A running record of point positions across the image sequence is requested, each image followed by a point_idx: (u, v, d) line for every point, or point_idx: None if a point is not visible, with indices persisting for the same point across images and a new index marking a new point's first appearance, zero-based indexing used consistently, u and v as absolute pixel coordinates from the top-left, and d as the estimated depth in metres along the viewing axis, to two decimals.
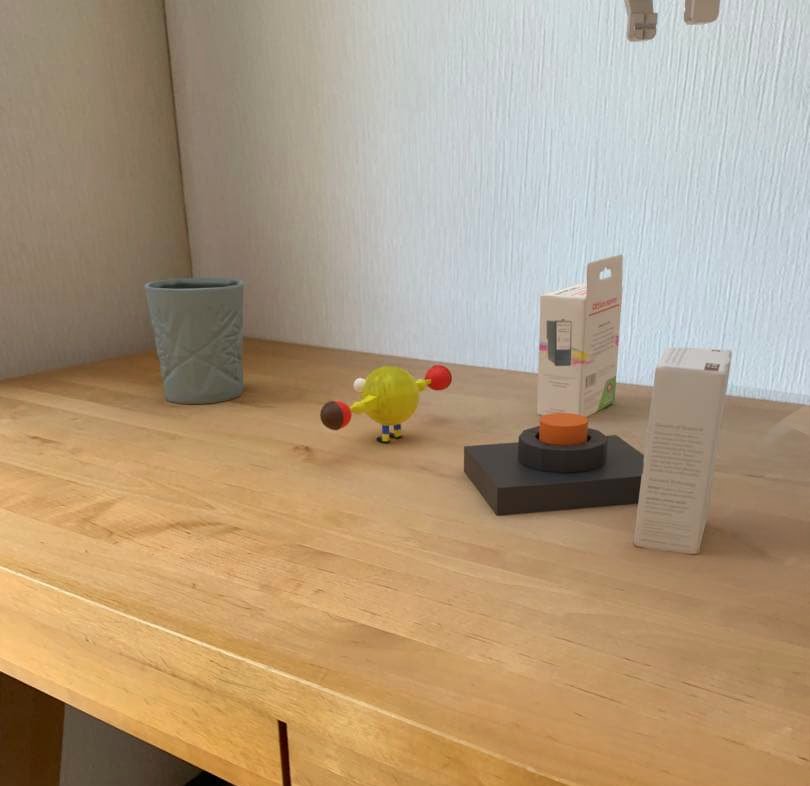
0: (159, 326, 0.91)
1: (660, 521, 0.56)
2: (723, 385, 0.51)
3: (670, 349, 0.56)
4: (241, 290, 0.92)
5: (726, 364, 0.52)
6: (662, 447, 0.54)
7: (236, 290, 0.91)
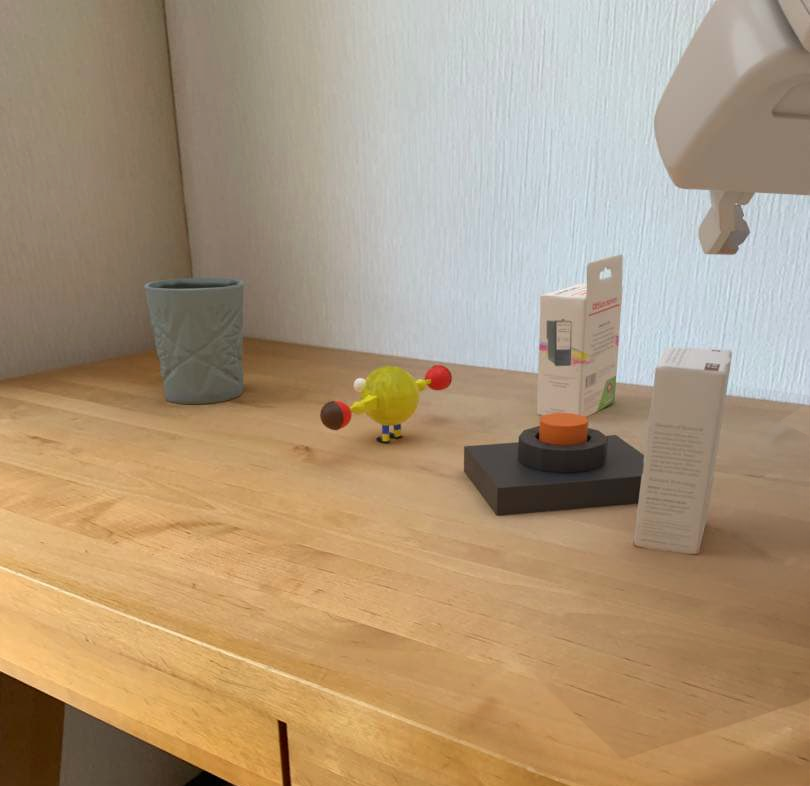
0: (159, 326, 0.91)
1: (660, 521, 0.56)
2: (723, 385, 0.51)
3: (670, 349, 0.56)
4: (241, 290, 0.92)
5: (726, 364, 0.52)
6: (662, 447, 0.54)
7: (236, 290, 0.91)
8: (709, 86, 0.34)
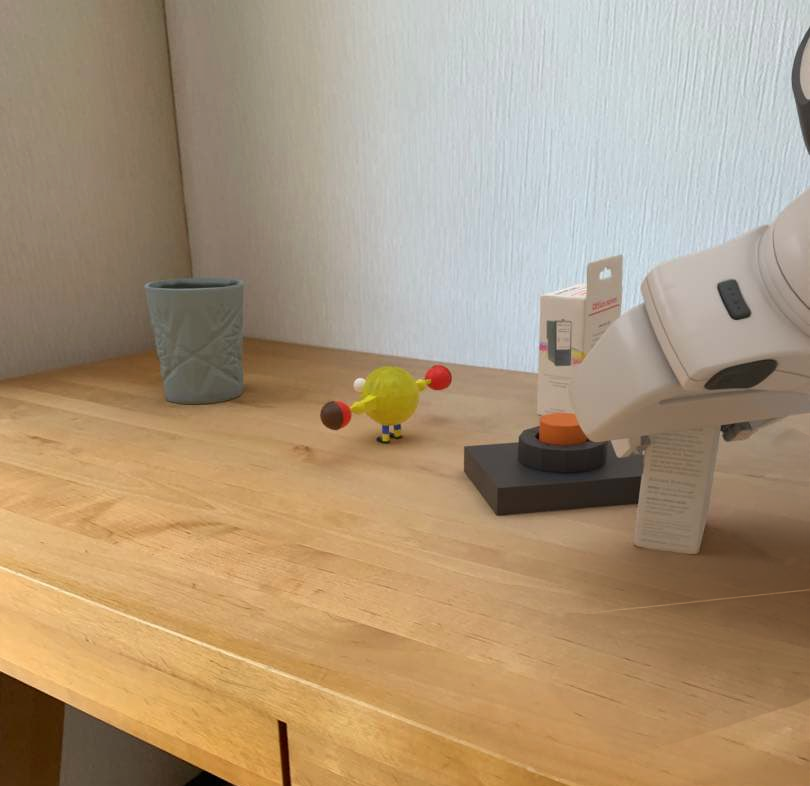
0: (159, 326, 0.91)
1: (660, 521, 0.56)
2: None
3: None
4: (241, 290, 0.92)
5: None
6: (662, 447, 0.54)
7: (236, 290, 0.91)
8: (614, 391, 0.45)
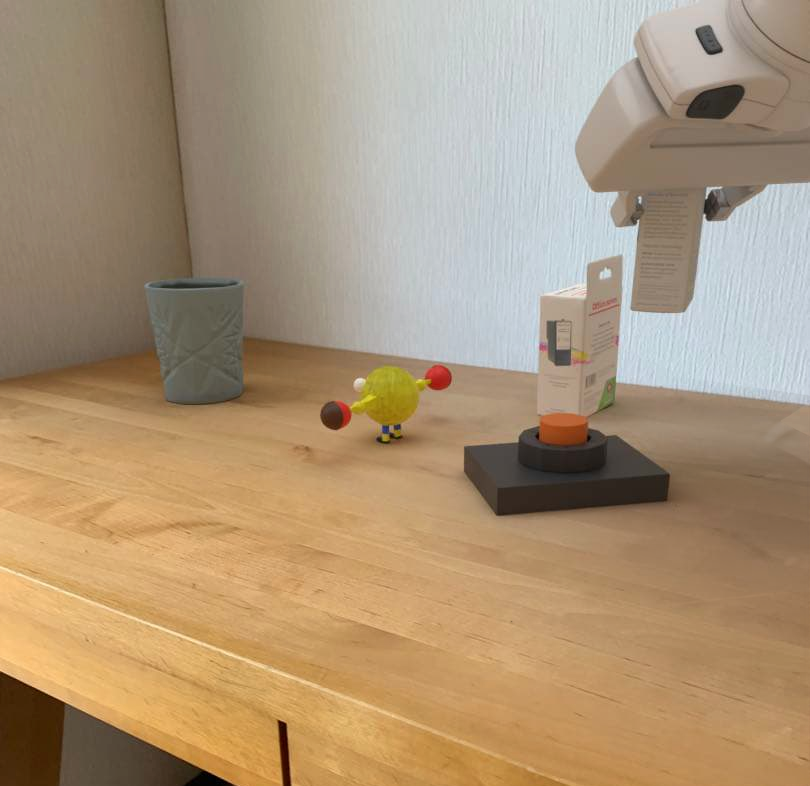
0: (159, 326, 0.91)
1: (652, 285, 0.66)
2: None
3: None
4: (241, 290, 0.92)
5: None
6: (653, 215, 0.64)
7: (236, 290, 0.91)
8: (612, 133, 0.55)
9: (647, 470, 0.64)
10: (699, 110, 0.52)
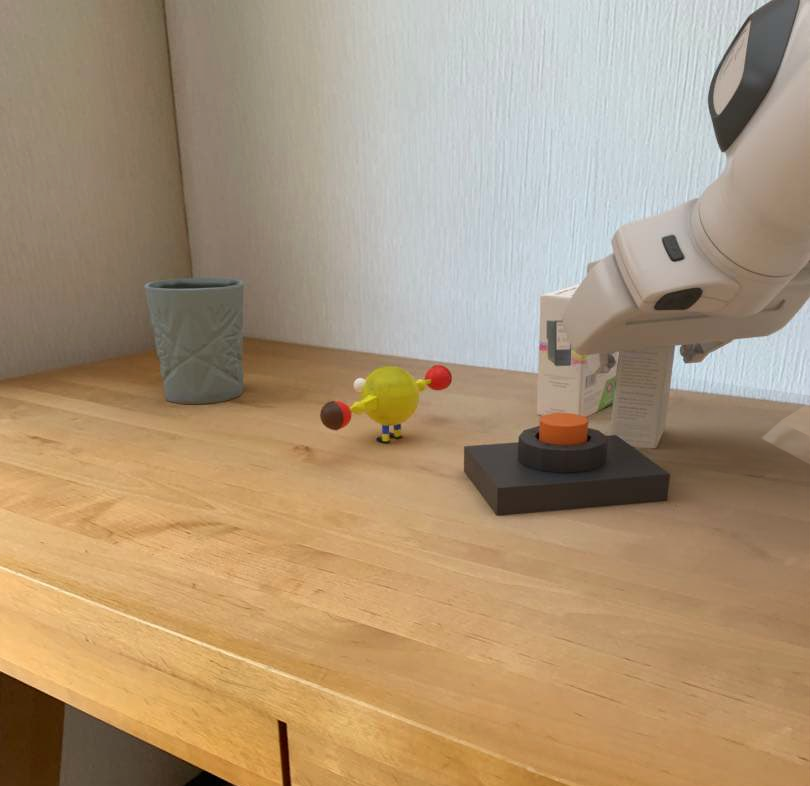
0: (159, 326, 0.91)
1: (628, 424, 0.76)
2: None
3: None
4: (241, 290, 0.92)
5: None
6: (629, 368, 0.74)
7: (236, 290, 0.91)
8: (593, 315, 0.65)
9: (647, 470, 0.64)
10: (665, 305, 0.62)
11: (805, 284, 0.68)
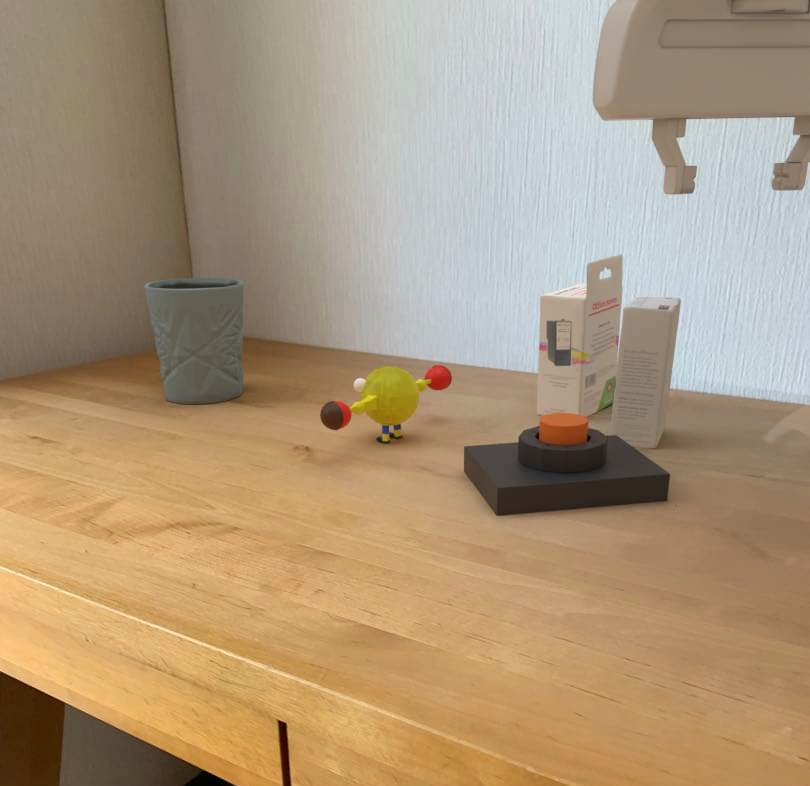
0: (159, 326, 0.91)
1: (628, 424, 0.76)
2: (671, 320, 0.71)
3: (636, 298, 0.76)
4: (241, 290, 0.92)
5: (674, 306, 0.72)
6: (629, 368, 0.74)
7: (236, 290, 0.91)
8: (615, 40, 0.54)
9: (647, 470, 0.64)
10: None
11: None
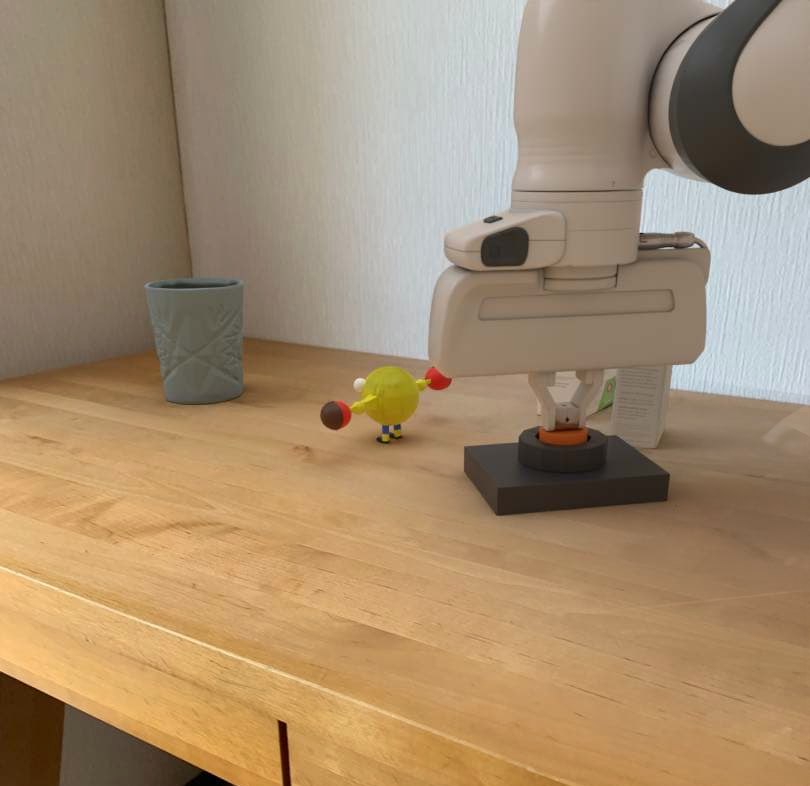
0: (159, 326, 0.91)
1: (628, 424, 0.76)
2: None
3: None
4: (241, 290, 0.92)
5: None
6: (629, 368, 0.74)
7: (236, 290, 0.91)
8: (439, 313, 0.60)
9: (647, 470, 0.64)
10: (493, 256, 0.57)
11: (682, 264, 0.61)
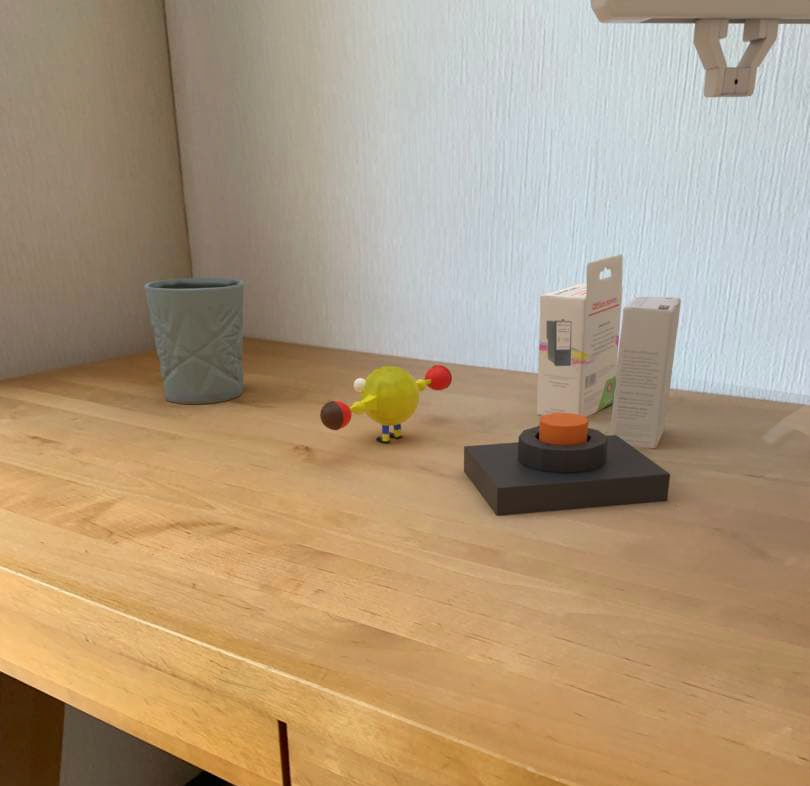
0: (159, 326, 0.91)
1: (628, 424, 0.76)
2: (671, 320, 0.71)
3: (636, 298, 0.76)
4: (241, 290, 0.92)
5: (674, 306, 0.72)
6: (629, 368, 0.74)
7: (236, 290, 0.91)
8: None
9: (647, 470, 0.64)
10: None
11: None
